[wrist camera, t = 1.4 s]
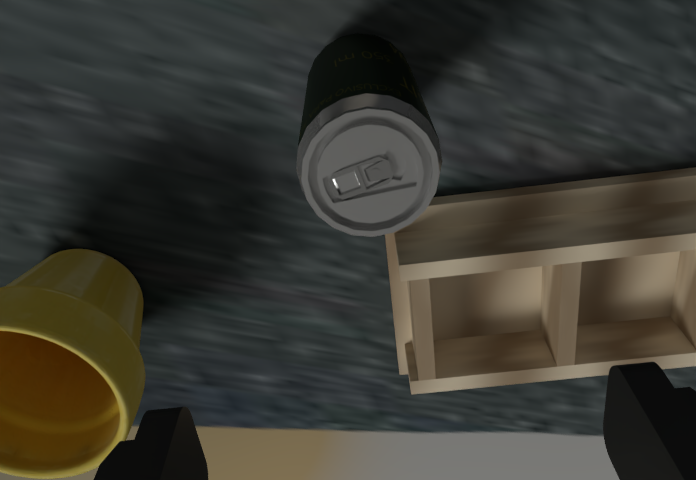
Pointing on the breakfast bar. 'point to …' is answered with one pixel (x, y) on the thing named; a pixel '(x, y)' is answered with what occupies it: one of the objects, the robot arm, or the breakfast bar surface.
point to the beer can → (366, 139)
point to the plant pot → (68, 364)
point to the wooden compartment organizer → (546, 282)
